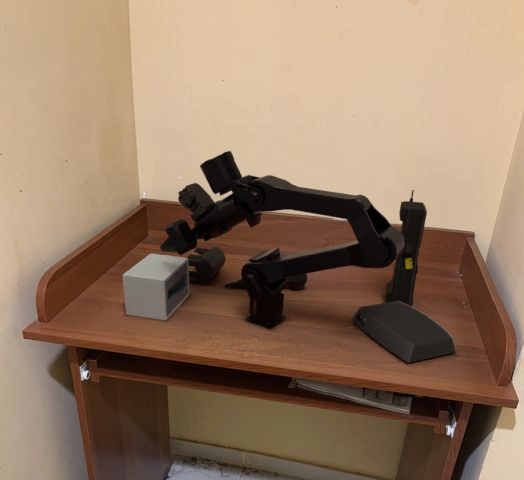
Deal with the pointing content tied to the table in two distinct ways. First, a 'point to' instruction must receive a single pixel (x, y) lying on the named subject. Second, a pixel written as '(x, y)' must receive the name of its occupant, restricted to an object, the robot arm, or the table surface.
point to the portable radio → (407, 253)
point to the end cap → (205, 264)
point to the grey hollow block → (156, 286)
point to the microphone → (293, 280)
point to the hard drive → (405, 331)
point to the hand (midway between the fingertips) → (174, 243)
